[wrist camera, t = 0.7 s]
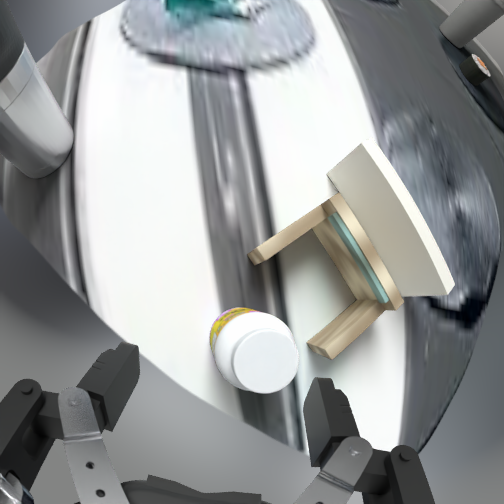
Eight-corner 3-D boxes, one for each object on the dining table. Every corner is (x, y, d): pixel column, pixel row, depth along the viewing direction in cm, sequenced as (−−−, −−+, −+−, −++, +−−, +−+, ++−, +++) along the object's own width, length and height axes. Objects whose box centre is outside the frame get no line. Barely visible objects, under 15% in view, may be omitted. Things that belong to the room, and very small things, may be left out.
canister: (464, 49, 60) (516, 5, 26) (458, 52, 57) (515, 4, 23) (441, 24, 60) (489, -22, 26) (432, 26, 57) (485, -27, 23)
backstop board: (326, 173, 36) (361, 143, 27) (336, 167, 37) (371, 137, 28) (401, 296, 36) (447, 294, 27) (409, 288, 36) (455, 284, 28)
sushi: (466, 80, 53) (481, 68, 45) (455, 61, 54) (470, 49, 47) (479, 89, 55) (494, 79, 47) (469, 71, 56) (484, 60, 48)
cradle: (247, 254, 32) (261, 243, 26) (312, 210, 35) (339, 192, 28) (312, 351, 32) (341, 363, 25) (369, 301, 35) (404, 301, 28)
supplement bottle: (267, 306, 32) (313, 312, 20) (268, 362, 31) (313, 399, 19) (207, 307, 31) (217, 317, 18) (209, 365, 30) (221, 410, 17)
